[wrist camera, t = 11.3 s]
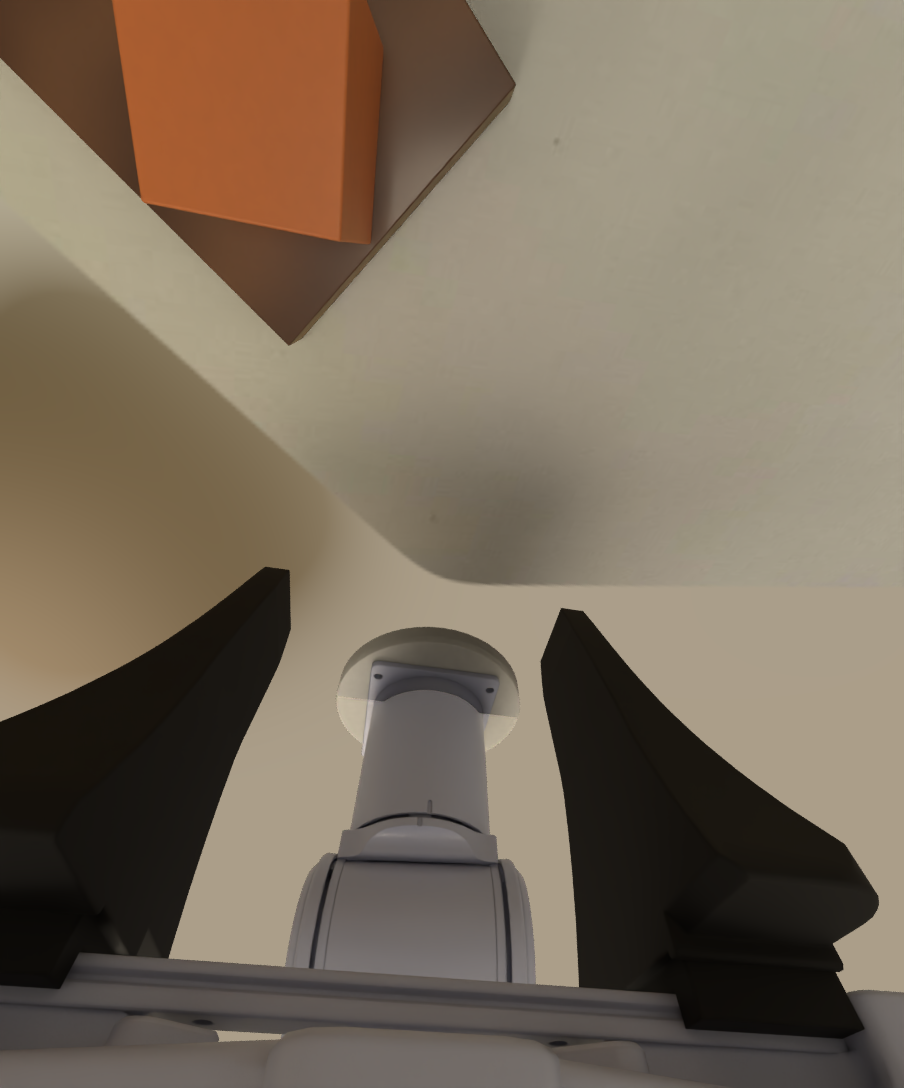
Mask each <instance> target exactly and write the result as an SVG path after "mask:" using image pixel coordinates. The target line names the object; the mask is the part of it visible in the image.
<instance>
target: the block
mask: <svg viewBox="0 0 904 1088" xmlns="http://www.w3.org/2000/svg"><path fill="white" fill-rule="evenodd" d="M112 4H113V11H114V18H115V24H116V31H117V38H118V45H119V52H120V58H121V65H122V72H123V79H124V86H125V93H126V99H127V106H128V113H129V120H130V127H131V134H132V140H133V147H134V154H135V161H136V168H137V175H138V181H139V188H140V195H141V199H142V201H143V202H144V203H147V204H152V205H157V206H162V207H167V208H172V209H177V210H182V211H187V212H192V213H197V214H202V215H207V216H212V217H217V218H222V219H227V220H232V221H237V222H242V223H247V224H252V225H257V226H262V227H267V228H272V229H277V230H282V231H287V232H292V233H297V234H302V235H307V236H313V237H318V238H323V239H328V240H333V241H338V242H348V243H358V244H370V242H371V230H372V215H373V200H374V185H375V170H376V155H377V140H378V125H379V109H380V94H381V79H382V64H383V45H382V42H381V39H380V36H379V34H378V31H377V28H376V25H375V22H374V19H373V17H372V14H371V11H370V8H369V5H368V3H367V0H112Z"/></svg>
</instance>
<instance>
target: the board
mask: <svg viewBox="0 0 904 1088" xmlns="http://www.w3.org/2000/svg"><path fill="white" fill-rule="evenodd" d="M367 3H368V5H369V8H370V11H371V14H372V17H373V19H374V22H375V25H376V28H377V31H378V34H379V36H380V39H381V42H382V45H383V64H382V79H381V94H380V109H379V125H378V140H377V155H376V170H375V185H374V200H373V215H372V230H371V242H370V244H358V243H348V242H338V241H333V240H328V239H323V238H318V237H313V236H307V235H302V234H297V233H292V232H287V231H282V230H277V229H272V228H267V227H262V226H257V225H252V224H247V223H242V222H237V221H232V220H227V219H222V218H217V217H212V216H207V215H202V214H197V213H192V212H187V211H182V210H177V209H172V208H167V207H162V206H157V205H152V204H147V203H146V204H147V205H148V206H149V207H150V208H151V209H152V210H153V211H154V212H155V213H156V214H157V215H158V216H159V217H160V218H161V219H162V220H163V221H164V222H165V223H166V224H167V225H168V226H169V227H170V228H171V229H172V230H173V231H174V232H175V233H176V234H177V235H178V236H179V237H180V238H181V239H182V240H183V241H184V242H185V243H186V244H187V245H188V246H189V247H190V248H191V249H192V250H193V251H194V252H195V253H196V254H197V255H198V256H199V257H200V258H201V259H202V260H203V261H204V262H205V263H206V264H207V265H208V266H209V267H210V268H211V269H212V270H213V271H214V272H215V273H216V274H217V275H218V276H219V277H220V278H221V279H222V280H223V281H224V282H225V283H226V284H227V285H228V286H229V287H230V288H231V289H232V290H233V291H234V292H235V293H236V294H237V295H238V296H239V297H240V298H241V299H242V300H243V301H244V302H245V303H246V304H247V305H248V306H249V307H250V308H251V309H252V310H253V311H254V312H255V313H256V314H257V315H258V316H259V317H260V318H261V319H262V320H264V321H265V322H266V323H267V324H268V325H269V326H270V327H271V328H272V329H273V330H274V331H275V332H276V333H277V334H278V335H279V336H280V337H281V338H282V339H283V340H284V341H285V342H286V343H287V344H288V345H291V344H293V343H295V342H297V341H299V340H300V339H302V338H303V337H304V335H305V334H306V333H307V332H308V331H309V330H310V329H311V327H312V326H313V325H314V324H315V323H316V322H317V321H318V319H319V318H320V317H321V316H322V315H323V314H324V313H325V311H326V310H327V309H328V308H329V307H330V306H331V305H332V303H333V302H334V301H335V300H336V299H337V298H338V297H339V295H340V294H341V293H342V292H343V291H344V290H345V289H346V287H347V286H348V285H349V284H350V283H351V282H352V281H353V279H354V278H355V277H356V276H357V275H358V274H359V273H360V271H361V270H362V269H363V268H364V267H365V266H366V265H367V264H368V262H369V261H370V260H371V259H372V258H373V257H374V256H375V254H376V253H377V252H378V251H379V250H380V249H381V248H382V246H383V245H384V244H385V243H386V242H387V241H388V240H389V238H390V237H391V236H392V235H393V234H394V233H395V232H396V230H397V229H398V228H399V227H400V226H401V225H402V224H403V222H404V221H405V220H406V219H407V218H408V217H409V216H410V214H411V213H412V212H413V211H414V210H415V209H416V208H417V206H418V205H419V204H420V203H421V202H422V201H423V200H424V198H425V197H426V196H427V195H428V194H429V193H430V192H431V190H432V189H433V188H434V187H435V186H436V185H437V184H438V182H439V181H440V180H441V179H442V178H443V177H444V176H445V174H446V173H447V172H448V171H449V170H450V169H451V168H452V167H453V165H454V164H455V163H456V162H457V161H458V160H459V159H460V157H461V156H462V155H463V154H464V153H465V152H466V151H467V149H468V148H469V147H470V146H471V145H472V144H473V143H474V141H475V140H476V139H477V138H478V137H479V136H480V135H481V133H482V132H483V131H484V130H485V129H486V128H487V127H488V125H489V124H490V123H491V122H492V121H493V120H494V119H495V117H496V116H497V115H498V114H499V113H500V112H501V111H502V109H503V108H504V107H505V106H506V105H507V104H508V103H509V101H510V100H511V97H512V94H513V91H514V88H515V86H516V84H515V82H514V80H513V78H512V77H511V75H510V73H509V72H508V70H507V69H506V67H505V65H504V64H503V62H502V60H501V59H500V57H499V55H498V54H497V52H496V50H495V49H494V47H493V45H492V44H491V42H490V40H489V39H488V37H487V35H486V34H485V32H484V30H483V29H482V27H481V25H480V24H479V22H478V20H477V19H476V17H475V15H474V14H473V12H472V10H471V9H470V7H469V5H468V4H467V2H466V0H367ZM0 58H1V59H2V60H3V61H4V62H5V63H6V64H7V65H8V66H9V67H10V68H11V69H12V70H13V71H14V72H15V73H16V74H17V75H18V76H19V77H20V78H21V79H22V80H23V81H24V82H25V83H26V84H27V85H28V86H29V87H30V88H31V89H32V90H33V91H34V92H35V93H36V94H37V95H38V96H39V97H40V98H41V99H42V100H43V101H44V102H45V103H46V104H47V105H48V106H49V107H50V108H51V109H52V110H53V111H54V112H55V113H56V114H57V115H58V116H59V117H60V118H61V119H62V120H63V121H64V122H65V123H66V124H67V125H68V126H69V127H70V128H71V129H72V130H73V131H74V132H75V133H76V134H77V135H78V136H79V137H80V138H81V139H82V140H83V141H84V142H85V143H86V144H87V145H88V146H89V147H90V148H91V149H92V150H93V151H94V152H95V153H96V154H97V155H98V156H99V157H100V158H101V159H102V160H103V161H104V162H105V163H106V164H107V165H108V166H109V167H110V168H111V169H112V170H113V171H114V172H115V173H116V174H117V175H118V176H119V177H120V178H121V179H122V180H123V181H124V182H125V183H126V184H127V185H128V186H129V187H130V188H131V189H132V190H133V191H134V192H135V193H136V194H137V195H138V196H139V197H140V198H141V195H140V188H139V181H138V175H137V168H136V161H135V154H134V147H133V140H132V134H131V127H130V120H129V113H128V106H127V99H126V93H125V86H124V79H123V72H122V65H121V58H120V52H119V45H118V38H117V31H116V24H115V18H114V11H113V4H112V0H0Z"/></svg>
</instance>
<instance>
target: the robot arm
mask: <svg viewBox="0 0 904 1088" xmlns="http://www.w3.org/2000/svg"><path fill="white" fill-rule="evenodd" d="M290 630H291V617H290V572H289V570H285V569H278V568H270V567H264V568H263V569H262V570H260V571H259V572H258V573H256V574H255V575H254V576H253V577H251V578H250V579H249V580H248V581H246V582H245V583H244V584H243V585H241V586H240V587H239V588H238V589H236V590H235V591H234V592H233V593H231V594H230V595H229V596H227V597H226V598H225V599H224V600H222V601H221V602H220V603H218V604H217V605H216V606H214V607H213V608H212V609H211V610H209V611H208V612H206V613H205V614H204V615H202V616H201V617H200V618H198V619H197V620H195V621H194V622H192V623H191V624H189V625H188V626H187V627H185V628H184V629H182V630H181V631H179V632H178V633H176V634H175V635H173V636H172V637H170V638H169V639H167V640H166V641H164V642H163V643H161V644H160V645H158V646H156V647H155V648H153V649H151V650H150V651H148V652H146V653H145V654H143V655H141V656H139V657H138V658H136V659H134V660H132V661H131V662H129V663H127V664H125V665H123V666H121V667H120V668H118V669H116V670H114V671H112V672H110V673H108V674H106V675H104V676H102V677H100V678H98V679H96V680H94V681H92V682H90V683H88V684H86V685H84V686H82V687H80V688H78V689H76V690H74V691H71V692H69V693H67V694H65V695H63V696H60V697H58V698H56V699H54V700H51V701H49V702H47V703H45V704H42V705H40V706H38V707H35V708H33V709H31V710H28V711H26V712H23V713H21V714H18V715H16V716H14V717H11V718H9V719H6V720H3V721H1V722H0V1088H904V993H903V992H889V991H875V990H858V991H853V992H848V993H846V992H845V990H844V988H843V986H842V984H841V982H840V980H839V978H838V976H837V974H836V972H840V971H842V970H843V963H842V961H841V959H840V957H839V955H838V953H837V951H836V950H835V948H834V946H833V943H834V942H836V941H838V940H839V939H840V938H842V937H844V936H845V935H847V934H849V933H850V932H852V931H854V930H855V929H857V928H858V927H860V926H861V925H863V924H864V923H866V922H867V921H868V920H869V919H871V918H872V917H873V916H874V914H875V912H876V911H877V909H878V906H879V900H878V895H877V893H876V892H875V890H874V889H873V887H872V886H871V884H870V882H869V881H868V879H867V878H866V876H865V875H864V873H863V872H862V870H861V869H860V867H859V866H858V864H857V862H856V861H855V859H854V858H853V856H852V855H851V853H850V852H849V850H848V848H847V847H846V846H845V844H844V843H842V842H840V841H839V840H838V839H836V838H835V837H833V836H831V835H830V834H828V833H827V832H825V831H824V830H822V829H821V828H819V827H818V826H816V825H814V824H813V823H811V822H810V821H808V820H807V819H805V818H804V817H802V816H801V815H799V814H797V813H796V812H794V811H793V810H791V809H790V808H788V807H787V806H786V805H784V804H783V803H781V802H780V801H779V800H777V799H776V798H774V797H773V796H772V795H770V794H769V793H767V792H766V791H765V790H763V789H762V788H760V787H759V786H758V785H756V784H755V783H754V782H752V781H751V780H750V779H748V778H747V777H746V776H744V775H743V774H742V773H740V772H739V771H738V770H736V769H735V768H734V767H733V766H732V765H730V764H729V763H728V762H727V761H725V760H724V759H723V758H722V757H721V756H719V755H718V754H717V753H716V752H715V751H713V750H712V749H711V748H710V747H708V746H707V745H706V744H705V743H704V742H703V741H701V740H700V739H699V738H698V737H697V736H696V735H695V734H694V733H693V732H691V731H690V730H689V729H688V728H687V727H686V726H685V725H684V724H683V723H682V722H681V721H680V720H679V719H678V718H677V717H675V716H674V715H673V714H672V713H671V712H670V711H669V710H668V709H667V708H666V707H665V706H664V705H663V704H662V703H661V702H660V701H659V700H658V699H657V697H656V696H655V695H654V694H653V693H652V692H651V691H650V690H649V689H648V688H647V687H646V686H645V685H644V683H643V682H642V681H641V680H640V679H639V678H638V677H637V676H636V675H635V673H634V672H633V671H632V670H631V669H630V668H629V666H628V665H627V664H626V663H625V662H624V661H623V659H622V658H621V657H620V656H619V655H618V653H617V652H616V651H615V650H614V649H613V647H612V646H611V645H610V644H609V642H608V641H607V640H606V639H605V637H604V636H603V635H602V634H601V632H600V631H599V630H598V629H597V628H596V626H595V625H594V624H593V622H592V621H591V620H590V619H589V618H588V616H587V615H586V614H585V613H584V612H583V611H578V610H571V609H564V608H561V610H560V612H559V615H558V618H557V620H556V623H555V626H554V628H553V631H552V633H551V636H550V638H549V641H548V644H547V646H546V649H545V651H544V654H543V657H542V659H541V675H542V686H543V696H544V701H545V706H546V711H547V715H548V720H549V725H550V730H551V734H552V739H553V743H554V748H555V752H556V757H557V761H558V766H559V770H560V775H561V780H562V786H563V792H564V799H565V807H566V816H567V824H568V833H569V843H570V854H571V863H572V875H573V888H574V901H575V915H576V932H577V951H578V970H579V987H566V986H552V985H538V984H536V982H535V981H536V978H535V952H534V938H533V927H532V918H531V911H530V903H529V898H528V893H527V888H526V885H525V881H524V879H523V877H522V875H521V874H520V873H519V872H518V870H517V869H516V868H515V866H514V864H513V862H512V861H511V860H509V859H500V860H498V854H497V839H496V836H495V835H490V830H489V812H488V796H487V795H488V794H487V777H486V760H485V742H484V731H485V728H486V725H487V722H488V718H489V715H490V712H491V709H492V706H493V703H494V700H495V697H496V694H497V691H498V688H499V678H498V677H497V676H494V675H489V674H481V673H473V672H465V671H457V670H449V669H441V668H434V667H426V666H418V665H410V664H402V663H394V662H386V661H375V662H374V663H373V664H372V667H371V673H370V682H369V691H368V700H367V709H366V718H365V727H364V736H363V746H362V756H363V757H364V759H363V764H362V769H361V776H360V780H359V786H358V791H357V797H356V802H355V807H354V813H353V819H352V824H351V829H350V830H344V831H343V832H342V836H341V842H340V847H339V852H338V854H333V853H326V854H325V855H323V857H322V858H321V859H320V861H319V862H318V863H317V864H316V865H315V866H314V867H313V868H312V869H311V871H310V872H309V874H308V876H307V878H306V880H305V883H304V885H303V888H302V891H301V895H300V898H299V902H298V905H297V909H296V913H295V917H294V921H293V926H292V931H291V935H290V941H289V946H288V952H287V958H286V965H285V967H280V966H266V965H251V964H238V963H237V964H236V963H223V962H209V961H195V960H180V959H168V958H169V954H170V951H171V947H172V944H173V941H174V938H175V934H176V931H177V928H178V925H179V921H180V918H181V915H182V912H183V909H184V905H185V902H186V899H187V895H188V892H189V889H190V886H191V883H192V880H193V877H194V874H195V871H196V868H197V865H198V862H199V859H200V856H201V853H202V849H203V847H204V844H205V841H206V837H207V835H208V832H209V829H210V826H211V823H212V820H213V818H214V815H215V811H216V809H217V806H218V803H219V800H220V797H221V795H222V792H223V789H224V786H225V784H226V781H227V778H228V775H229V773H230V770H231V767H232V765H233V762H234V759H235V757H236V754H237V752H238V750H239V747H240V745H241V743H242V740H243V739H244V736H245V734H246V732H247V730H248V728H249V726H250V724H251V722H252V720H253V718H254V716H255V714H256V712H257V709H258V707H259V705H260V703H261V701H262V699H263V697H264V695H265V693H266V691H267V689H268V687H269V684H270V682H271V680H272V678H273V676H274V674H275V672H276V670H277V667H278V665H279V663H280V660H281V657H282V654H283V651H284V648H285V645H286V642H287V639H288V636H289V633H290ZM378 673H379V674H380V675H379V674H378ZM490 687H491V688H490ZM213 1030H220V1031H221V1030H222V1031H238V1032H255V1033H272V1034H282V1036H281V1039H280V1040H258V1041H257V1040H256V1041H230V1042H218V1041H219V1037H218V1035H217V1032H216V1031H213Z"/></svg>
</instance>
